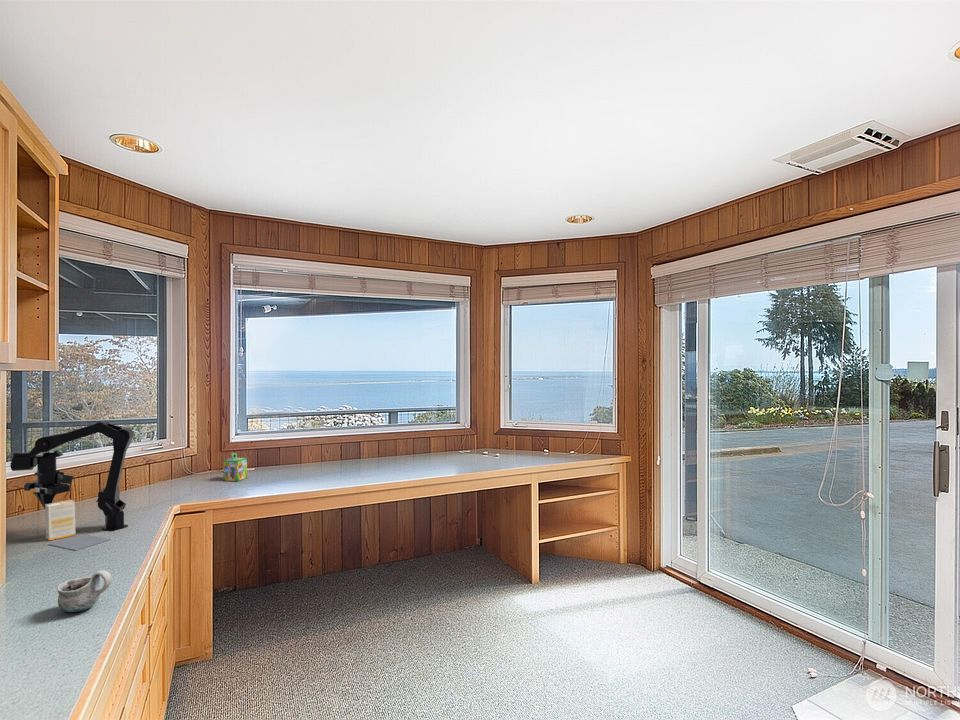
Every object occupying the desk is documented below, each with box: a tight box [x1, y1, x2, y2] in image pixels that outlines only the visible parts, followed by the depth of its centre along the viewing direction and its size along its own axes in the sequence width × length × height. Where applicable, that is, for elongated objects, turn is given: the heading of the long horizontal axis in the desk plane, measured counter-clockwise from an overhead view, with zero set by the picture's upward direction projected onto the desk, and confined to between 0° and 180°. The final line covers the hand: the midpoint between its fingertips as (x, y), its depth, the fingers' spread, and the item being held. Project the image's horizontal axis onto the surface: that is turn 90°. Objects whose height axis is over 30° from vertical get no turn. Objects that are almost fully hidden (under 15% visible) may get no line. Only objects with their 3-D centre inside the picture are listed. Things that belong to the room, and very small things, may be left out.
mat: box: [48, 533, 112, 551], centre depth 198 cm, size 16×12×1 cm
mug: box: [56, 569, 112, 613], centre depth 145 cm, size 10×12×10 cm
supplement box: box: [44, 499, 76, 542], centre depth 203 cm, size 8×5×13 cm, turn 141°
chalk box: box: [222, 452, 248, 482], centre depth 299 cm, size 9×9×15 cm
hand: (47, 509), depth 207 cm, fingers closed
